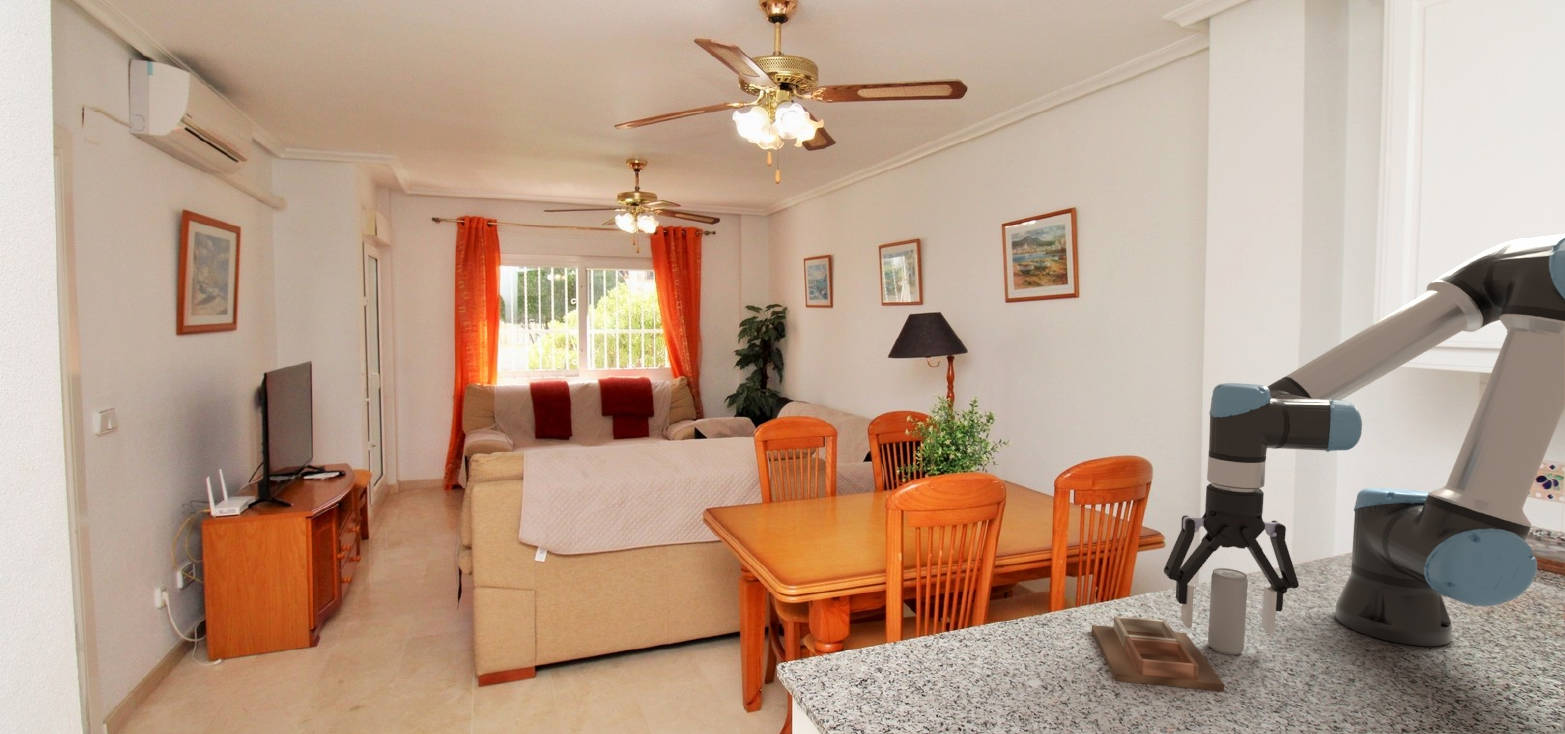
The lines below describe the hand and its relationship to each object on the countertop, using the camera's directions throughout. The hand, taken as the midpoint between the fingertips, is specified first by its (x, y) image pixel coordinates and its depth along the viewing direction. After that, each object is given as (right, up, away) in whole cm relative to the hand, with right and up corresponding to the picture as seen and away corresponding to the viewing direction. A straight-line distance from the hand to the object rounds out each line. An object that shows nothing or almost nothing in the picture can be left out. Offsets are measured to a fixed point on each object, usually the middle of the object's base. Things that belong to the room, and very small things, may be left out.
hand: (1226, 627), depth 119 cm
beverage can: (0, -4, 0) cm, 4 cm away
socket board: (-13, -4, -3) cm, 14 cm away
